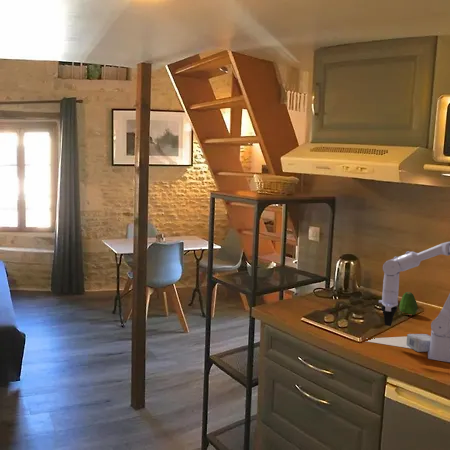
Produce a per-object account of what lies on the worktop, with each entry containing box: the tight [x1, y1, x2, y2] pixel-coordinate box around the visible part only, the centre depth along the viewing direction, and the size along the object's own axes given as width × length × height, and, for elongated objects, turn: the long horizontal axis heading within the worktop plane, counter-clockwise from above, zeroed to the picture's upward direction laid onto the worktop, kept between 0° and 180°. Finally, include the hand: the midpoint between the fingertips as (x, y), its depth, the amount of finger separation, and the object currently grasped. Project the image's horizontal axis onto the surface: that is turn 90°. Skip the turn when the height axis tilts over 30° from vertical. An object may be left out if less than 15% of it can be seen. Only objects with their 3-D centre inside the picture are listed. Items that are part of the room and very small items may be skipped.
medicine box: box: [406, 333, 431, 353], centre depth 193 cm, size 8×4×9 cm
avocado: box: [398, 291, 418, 316], centre depth 235 cm, size 8×8×12 cm
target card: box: [366, 336, 413, 350], centre depth 205 cm, size 20×20×1 cm
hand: (388, 325), depth 194 cm, fingers closed
